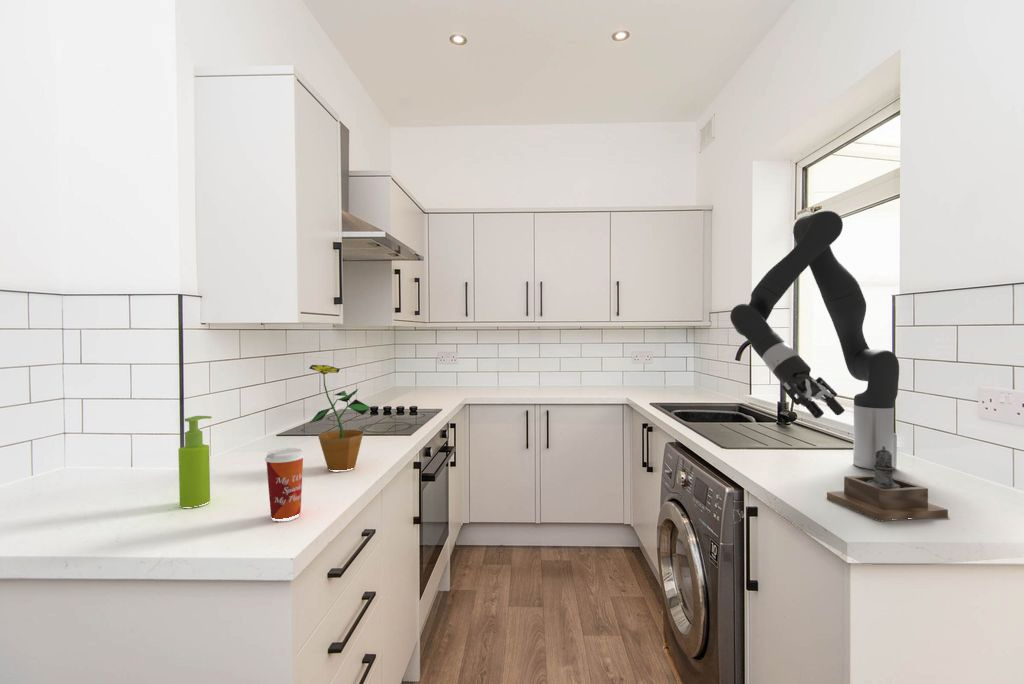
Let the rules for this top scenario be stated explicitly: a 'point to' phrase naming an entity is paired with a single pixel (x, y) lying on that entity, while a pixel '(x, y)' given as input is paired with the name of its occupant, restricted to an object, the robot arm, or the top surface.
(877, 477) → the salt shaker
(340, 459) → the potted plant
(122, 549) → the top surface
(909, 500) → the stand
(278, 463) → the paper cup
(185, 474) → the soap dispenser
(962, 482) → the top surface
